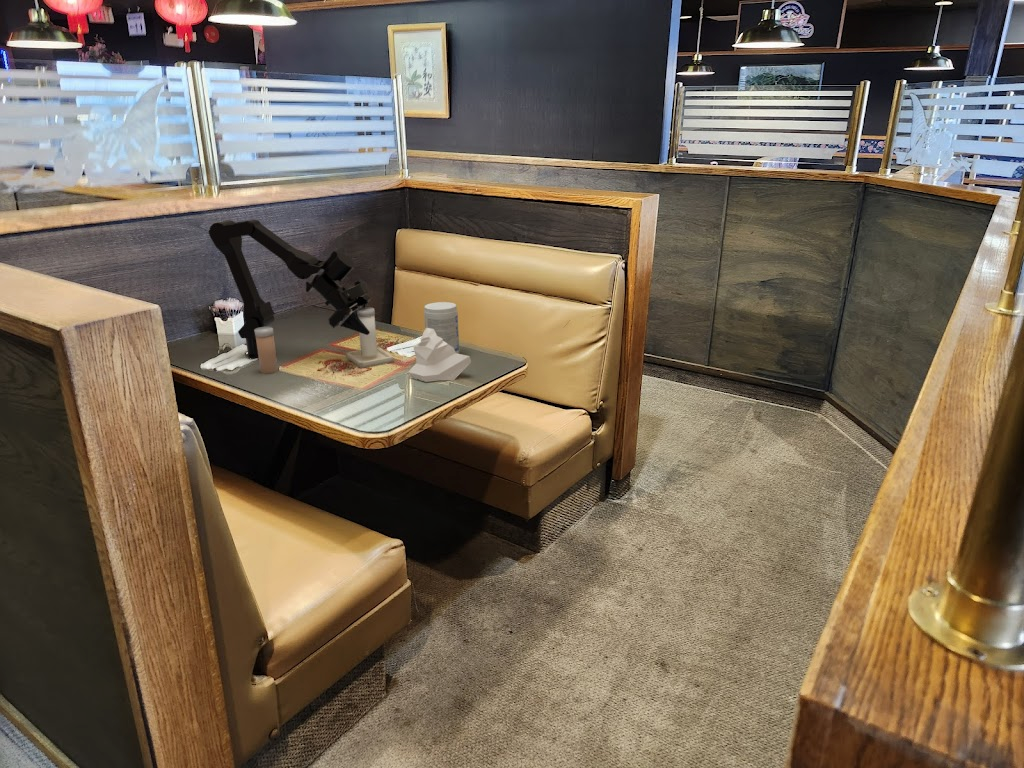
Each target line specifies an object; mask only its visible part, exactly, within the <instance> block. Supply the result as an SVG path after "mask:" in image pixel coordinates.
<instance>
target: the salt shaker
mask: <svg viewBox="0 0 1024 768" xmlns="http://www.w3.org/2000/svg"><path fill="white" fill-rule="evenodd" d="M375 314H376V313H375V308H374V307H370V306H367V307H364V308H359V309H357V315H358V318H359V319H360V320H361V322H362V323H363V324H364V325H365V326H366V328H367V329H368V330H369V332H370V333H369V334H368V335H365V334H363V333H360V332H358V333H359V335H358V336H359V345H360V350H361V355H363V356H372V355H376V354H377V347H378V344H377V334H376V333H377V332H376V330H377V328H376V329H375V327H376V318H375Z"/></svg>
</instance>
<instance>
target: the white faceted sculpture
mask: <svg viewBox="0 0 1024 768" xmlns="http://www.w3.org/2000/svg"><path fill="white" fill-rule="evenodd" d="M419 340H420V341H419V342H418V343H417V344H415V345H414V346H413V351H414V355H415V358H416V359H415V360H416V361H415V363H414V365H413V366H412V367H411V368H410V370H409V371H407V372H408V376H409V378H410V377H412V378H411V379H413V378H415V379H414V380H417V379H419V380H418V381H421V382H425V383H428V382H436V381H454V380H456V379H457V377H458V376H459V375H460V374H461V373H462V372H464V370H465V369H466V368H467V367H468V366H469V365H470V364H471V363H472V360H471V357H470V355H465V354H462V353H458V354H457V353H456V352H455V350H454V348H453V347H452V346H450V345H448V344H447V343H446V342H444V341H443V339H442V338H440V337H438V336H437V335H436V332H435V331H434V329H431V328H426V329H424V330H423V333H422V336H420V337H419Z"/></svg>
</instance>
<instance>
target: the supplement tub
mask: <svg viewBox="0 0 1024 768" xmlns="http://www.w3.org/2000/svg"><path fill="white" fill-rule="evenodd" d="M423 307H424V314H423V317H424V327H425V329H426V328H431V329H434V331H435V332H436V335H437V336H438V337H440V338H442V339H443V341H444V342H446V343H447V344H448V345H450V346H452V347H453V348H454V350H455V352H456V353H457V354H460V338H459V337H460V336H459V317H458V308H457V307H458V306H457V304H456V303H454V302H449V301H438V302H431V303H428V304H425V305H424V306H423ZM425 329H424V330H425Z"/></svg>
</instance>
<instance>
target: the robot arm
mask: <svg viewBox="0 0 1024 768" xmlns="http://www.w3.org/2000/svg"><path fill="white" fill-rule="evenodd" d="M208 235H209V238H210V239H211V241H212V243H213V244H214V245H213V246H215V248H216V249H217V250H218V251H220V253H221V254H222V255H223V256H224V259H225V260H226V264H227V265H228V268H229V270H230V273H231V275H232V277H233V278H232V279H233V280H234V283H235V285H236V287H237V289H238V293H239V296H240V297H241V300H242V302H243V311H242V315H243V320H244V324H243V325H242V326H241V328H240V329H239V330H238V331H237V332H238V334H239V336H240V337H239V338H240V339H245V342H246V344H245V345H246V350H247V351H248V354H247V355H246V357H247V356H248V357H249V358H251V359H256V358H259V356H258V349H257V342H256V336H255V331H254V330H255V329H256V328H259V327H272V325H273V323H274V322H275V316H274V315H276V313H275V311H274V310H273V307H272V303H271V302H270V301H267V302H266V301H264V300H263V298H262V297H261V296H260V293H259V290H258V289H257V285H256V284H255V280H254V279H253V276H252V273H251V271H250V268H249V265H248V262H247V261H246V260H247V259H246V258H245V256H244V254H243V249H242V247H243V236H248V237H250V238H252V239H253V240H254V241H255V242H258V243H259V244H260V245H261V246H262V247H263V248H265V249H267V250H268V251H270V252H271V253H272V254H274V255H275V256H276V257H278V258H279V259H280V260H281V261H282V262H283V263H284V264H285V266H286V267H287V269H288V270H289V271H290V272H291V273H292V274H293V275H294V276H295V277H296V278H298V279H299V280H307V279H309V278H311V277H313V276H314V277H313V278H312V280H308V281H306V282H305V292H306V293H309V292H311V291H313V290H314V291H315V292H317V293H318V295H319V296H321V297H322V298H323V300H325V302H324V304H325V305H326V306H327V307H329V306H331V307H332V308H333V310H335V311H334V312H333V314H331V316H330V317H329V318H328V325H330V326H331V327H332V329H335V328H336V327H338V326H340V328H343V327H344V328H346V329H349V330H351V331H354V332H358V333H359V332H360V333H363V334H365V335H368V334H369V333H370V332H369V330H368V329H367V328H366V326H365V325H364V324H363V323H362V322H361V320H360V319H359V318H358V315H357V309H359V308H364V307H369V302H370V301H371V299H372V298H371V297H370V295H368V294H367V293H369V292H370V290H369V289H368V286H369V284H368V283H367V282H366V281H365V280H363V279H361V278H360V279H357V280H356V281H355V282H354V286H352V287H349V288H348V287H347V286H345V285H343V286H341V285H340V284H339V283H337V281H338V282H342V281H343V280H344V279H345V278H346V277H347V275H349V274H350V273H351V271H352V270H354V268H355V265H356V264H355V262H354V260H353V259H352V257H350V256H349V255H346V254H344V253H342V252H340V251H339V250H338V249H335V250H333V251H332V253H331V254H330V256H329V257H328V258H327V259H326V260H322V259H318V258H317V257H315V256H314V255H312V254H310V253H308V252H307V251H304V250H300V249H298V248H295V247H293V246H292V245H291V244H290V243H288V242H287V241H285V240H283V238H281V237H280V236H278V235H277V234H276V233H274V232H273V231H271V230H270V229H269V228H267V227H266V226H265V225H263V224H262V223H261V222H260V221H259V220H258V219H248V220H245V221H244V220H243V221H238V222H235V221H233V220H231V219H227V220H221V221H218V222H213V224H211V225H210V227H209V229H208ZM320 272H321V274H318V273H320ZM339 323H341V324H339ZM375 329H376V330H377V327H376V326H375ZM247 351H246V352H247ZM248 357H247V358H248ZM249 358H248V359H249Z"/></svg>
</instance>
